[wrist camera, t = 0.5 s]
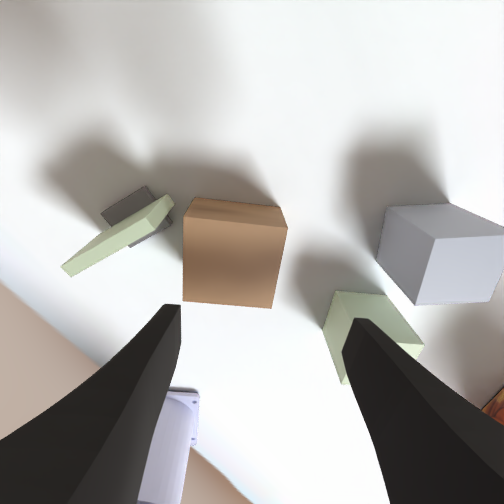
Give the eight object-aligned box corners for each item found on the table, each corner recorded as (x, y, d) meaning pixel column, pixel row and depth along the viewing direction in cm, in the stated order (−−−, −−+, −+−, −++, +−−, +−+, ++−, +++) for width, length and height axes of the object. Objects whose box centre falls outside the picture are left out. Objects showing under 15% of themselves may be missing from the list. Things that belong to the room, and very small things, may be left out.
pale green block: (186, 214, 19) (168, 246, 14) (120, 251, 20) (85, 290, 16) (159, 176, 18) (130, 199, 13) (91, 218, 19) (44, 251, 14)
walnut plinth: (267, 276, 22) (271, 308, 18) (193, 269, 21) (182, 301, 18) (279, 206, 19) (288, 228, 15) (195, 196, 18) (183, 216, 15)
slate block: (432, 257, 21) (488, 301, 16) (375, 260, 21) (415, 305, 16) (449, 202, 19) (520, 234, 14) (386, 206, 19) (435, 238, 14)
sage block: (368, 333, 25) (399, 387, 20) (322, 329, 24) (341, 384, 20) (386, 294, 23) (424, 345, 18) (335, 290, 22) (360, 340, 17)
